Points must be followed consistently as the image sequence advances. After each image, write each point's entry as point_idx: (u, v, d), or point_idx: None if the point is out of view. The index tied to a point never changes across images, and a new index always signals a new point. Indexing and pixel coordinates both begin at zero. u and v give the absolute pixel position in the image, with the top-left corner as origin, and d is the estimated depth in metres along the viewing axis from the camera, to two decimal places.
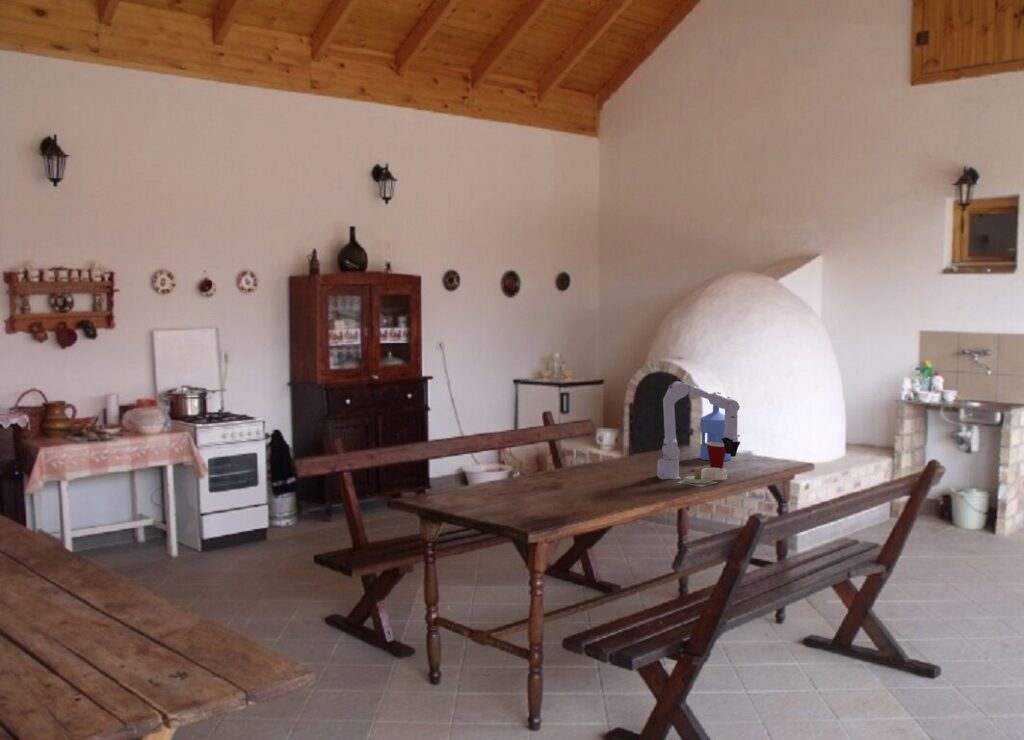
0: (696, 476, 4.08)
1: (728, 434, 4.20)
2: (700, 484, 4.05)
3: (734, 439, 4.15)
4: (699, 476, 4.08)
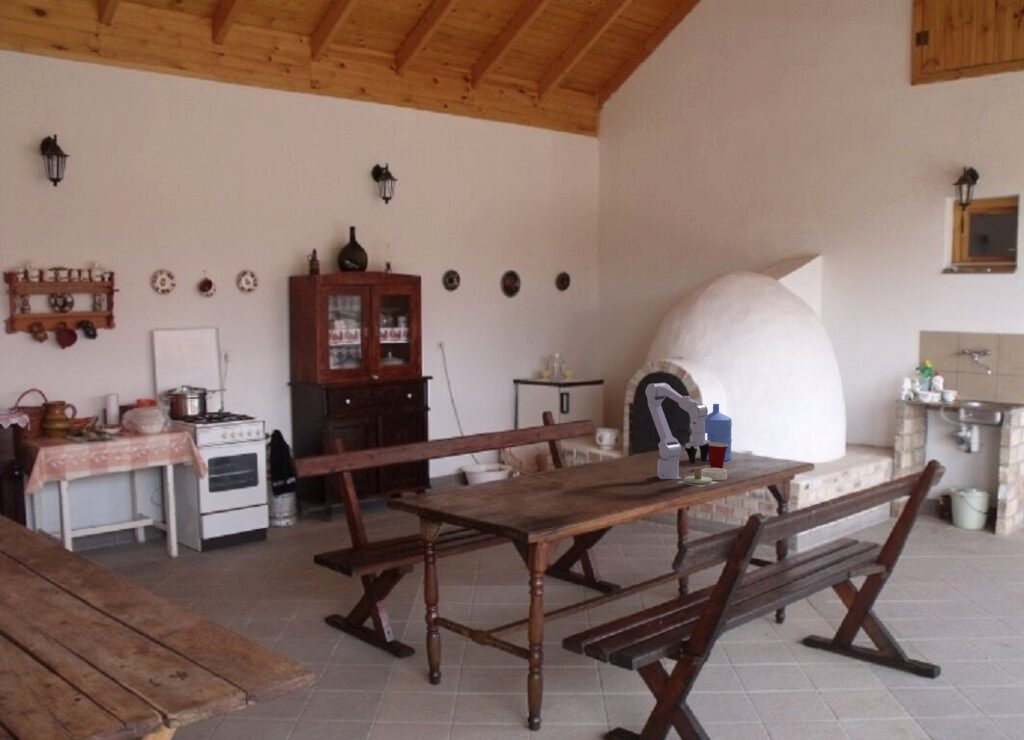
0: (696, 476, 4.08)
1: None
2: (700, 484, 4.05)
3: (686, 445, 4.04)
4: (699, 476, 4.08)
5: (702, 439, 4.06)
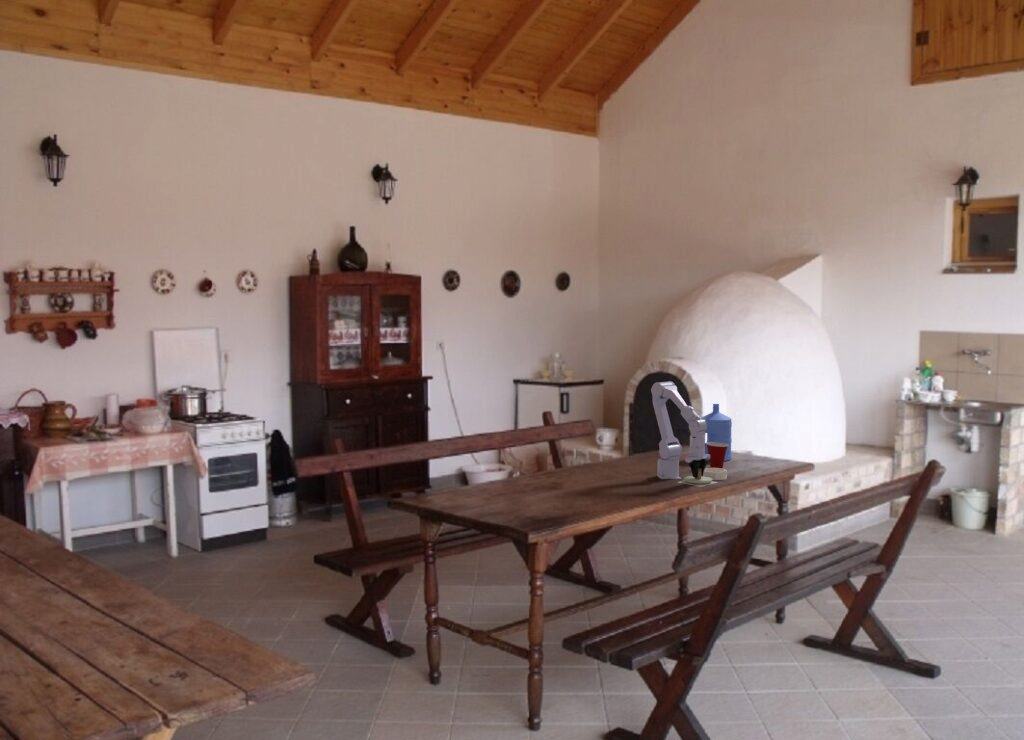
0: None
1: (691, 454, 4.09)
2: (700, 484, 4.05)
3: (686, 459, 4.05)
4: (699, 476, 4.08)
5: (702, 453, 4.06)
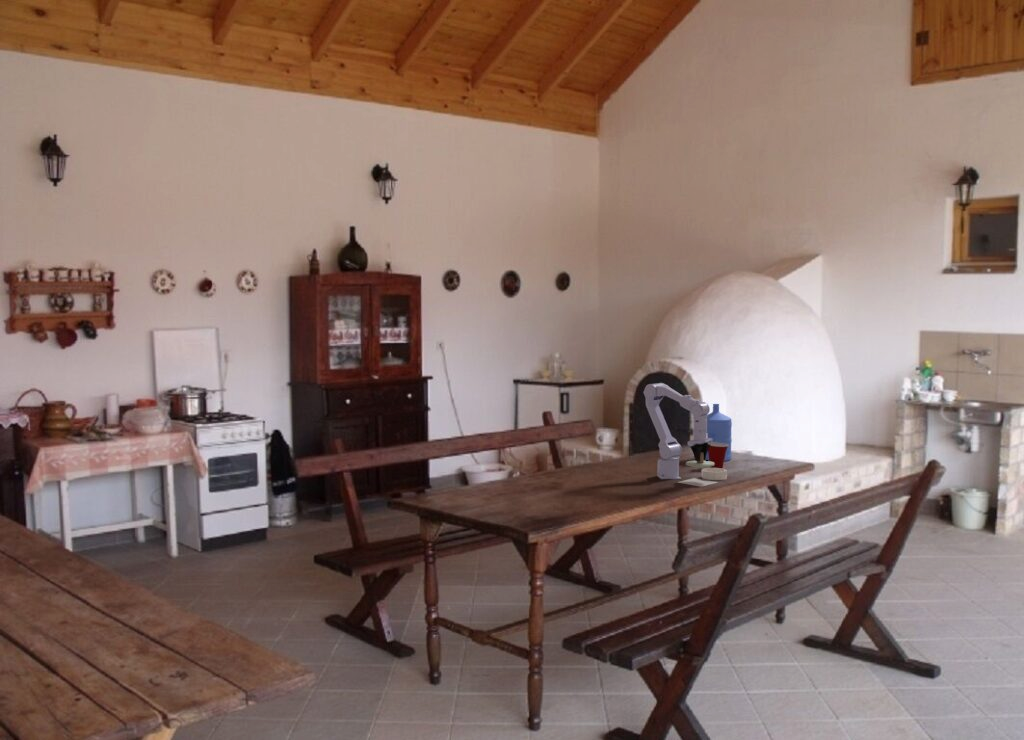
0: None
1: None
2: (700, 484, 4.05)
3: (688, 443, 4.05)
4: (701, 460, 4.09)
5: (704, 437, 4.07)
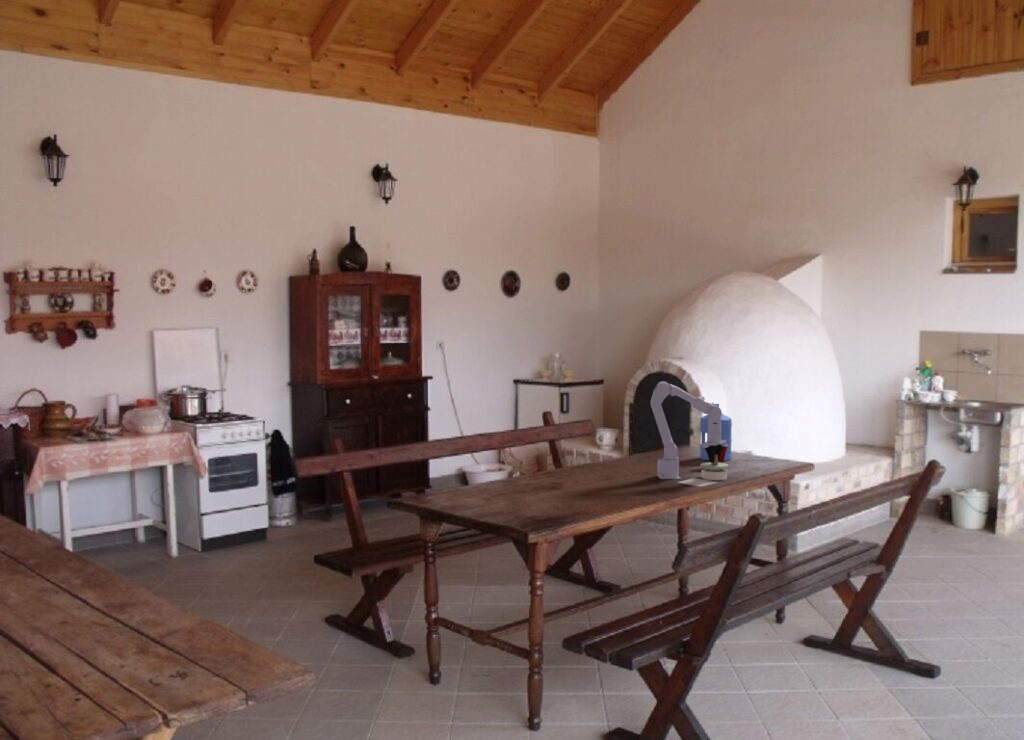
0: None
1: (708, 440, 4.18)
2: (700, 484, 4.05)
3: (703, 445, 4.14)
4: (716, 462, 4.17)
5: (718, 439, 4.15)
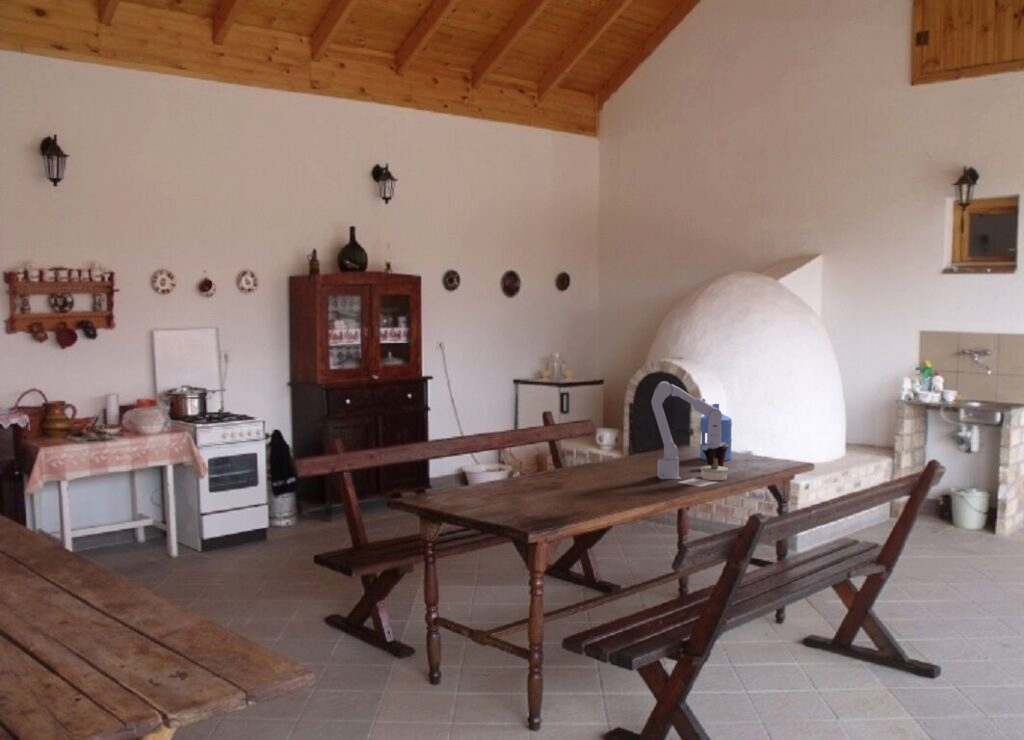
0: (713, 466, 4.18)
1: (708, 442, 4.18)
2: (700, 484, 4.05)
3: (703, 447, 4.14)
4: (716, 466, 4.17)
5: (718, 441, 4.16)
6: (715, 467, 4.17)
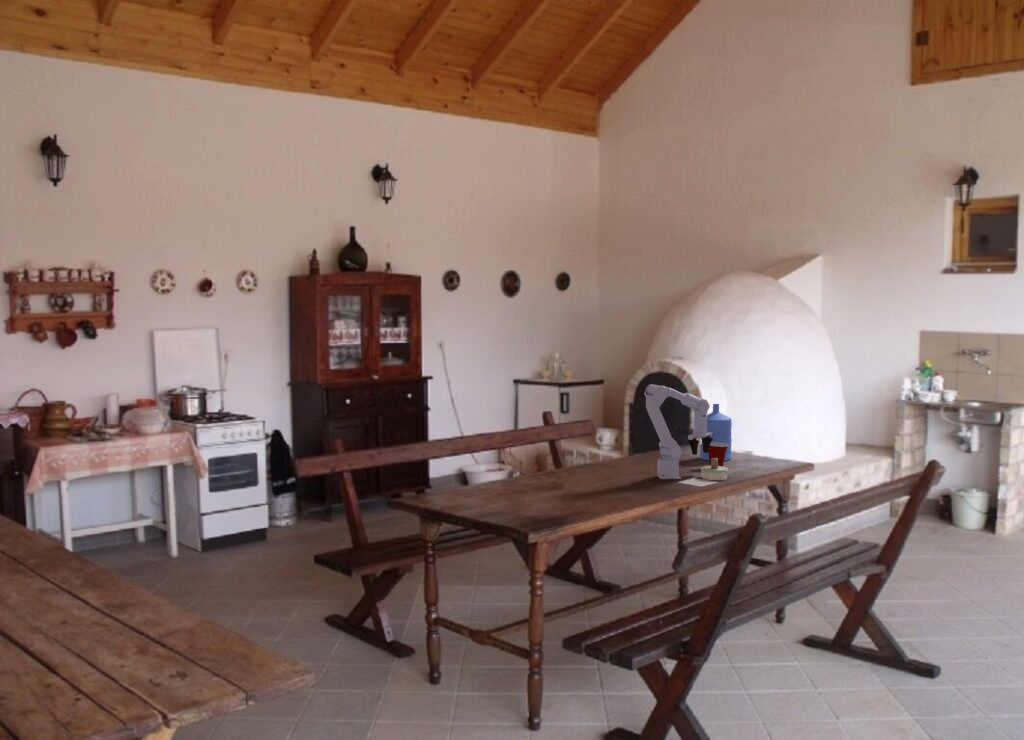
0: (713, 466, 4.18)
1: (694, 432, 4.27)
2: (700, 484, 4.05)
3: (688, 437, 4.23)
4: (716, 466, 4.17)
5: (704, 431, 4.25)
6: (715, 467, 4.17)
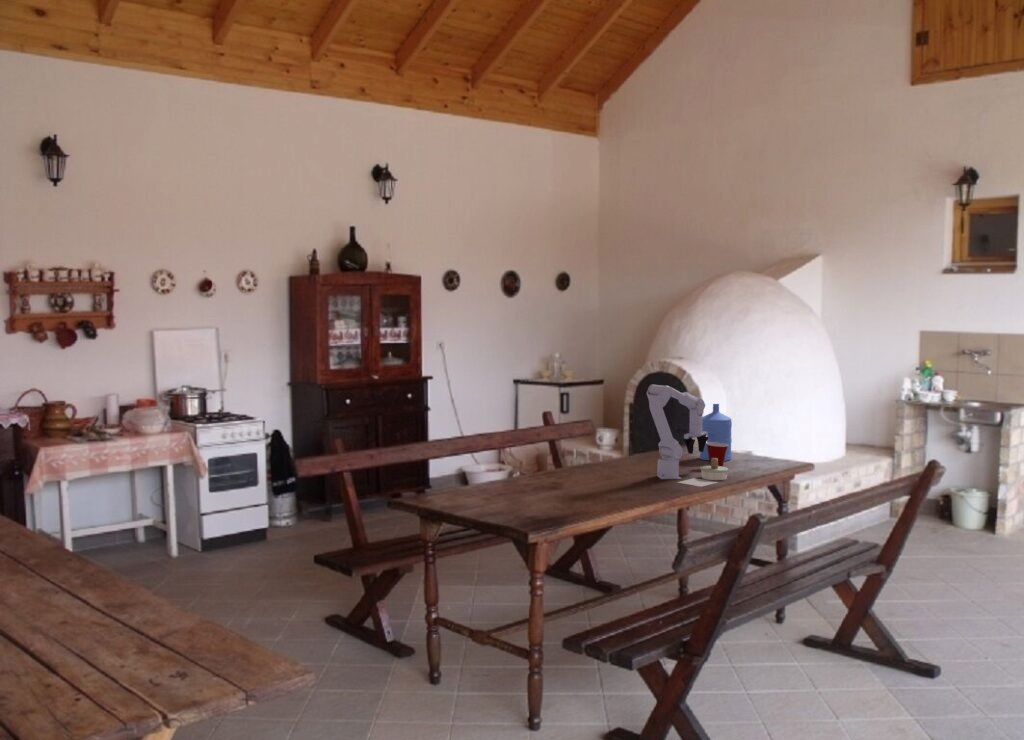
0: (713, 466, 4.18)
1: None
2: (700, 484, 4.05)
3: (684, 436, 4.26)
4: (716, 466, 4.17)
5: (700, 430, 4.28)
6: (715, 467, 4.17)
